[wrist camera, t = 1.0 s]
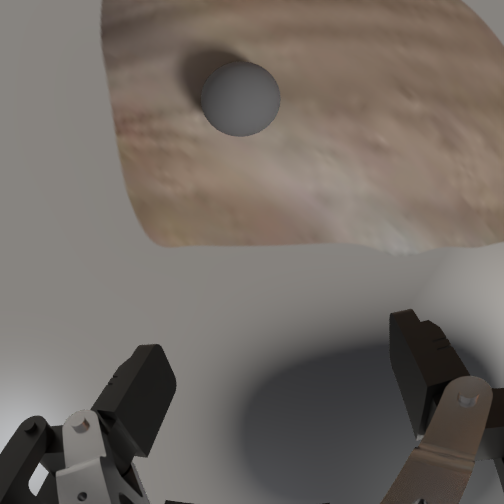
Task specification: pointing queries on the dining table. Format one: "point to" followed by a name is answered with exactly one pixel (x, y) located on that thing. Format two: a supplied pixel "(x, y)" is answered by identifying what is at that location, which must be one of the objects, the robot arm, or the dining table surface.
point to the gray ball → (240, 99)
